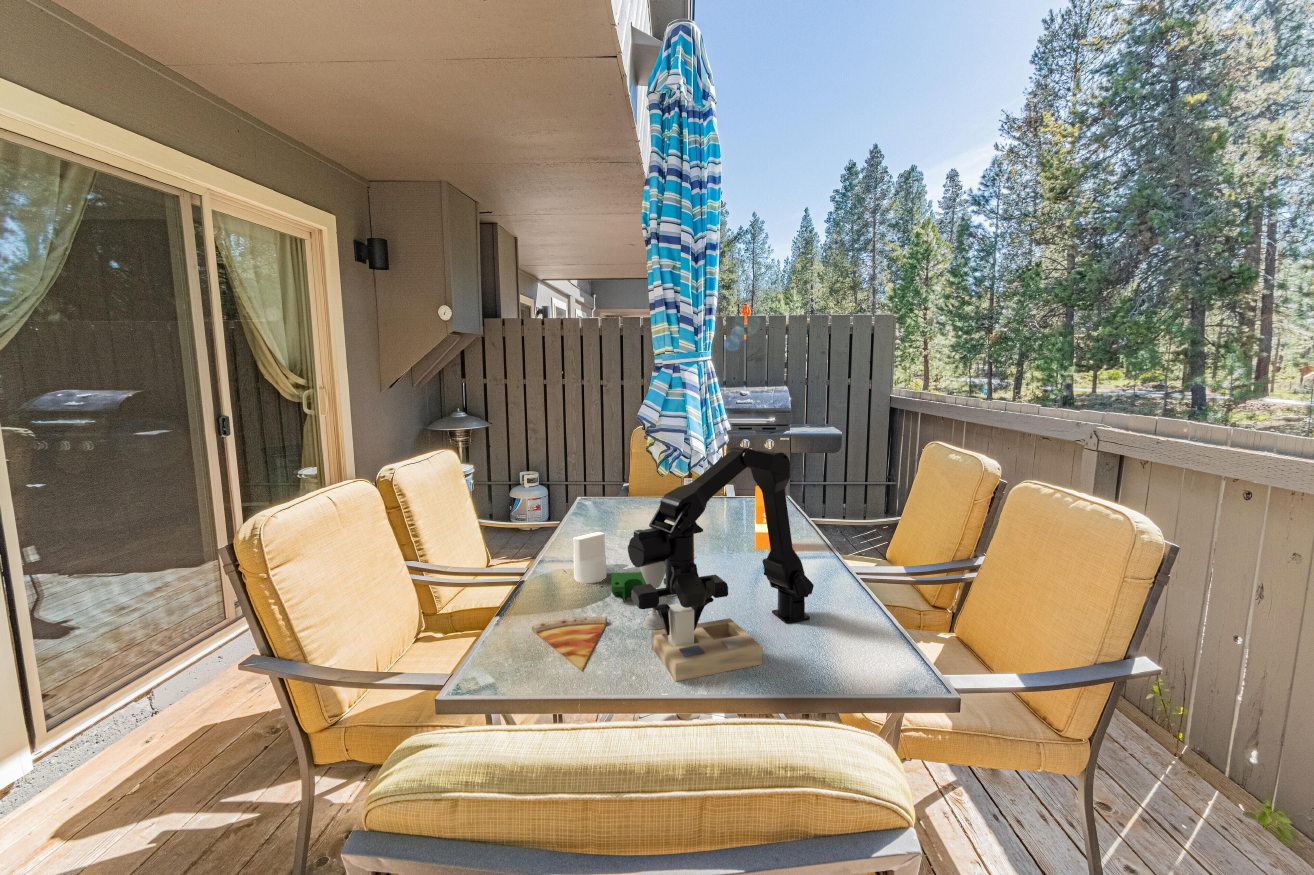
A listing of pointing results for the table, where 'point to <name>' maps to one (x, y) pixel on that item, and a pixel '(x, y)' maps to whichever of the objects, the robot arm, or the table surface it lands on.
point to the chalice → (654, 577)
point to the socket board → (708, 650)
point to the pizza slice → (572, 637)
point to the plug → (681, 625)
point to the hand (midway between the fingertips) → (680, 632)
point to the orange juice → (760, 522)
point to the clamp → (625, 583)
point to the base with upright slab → (589, 558)
